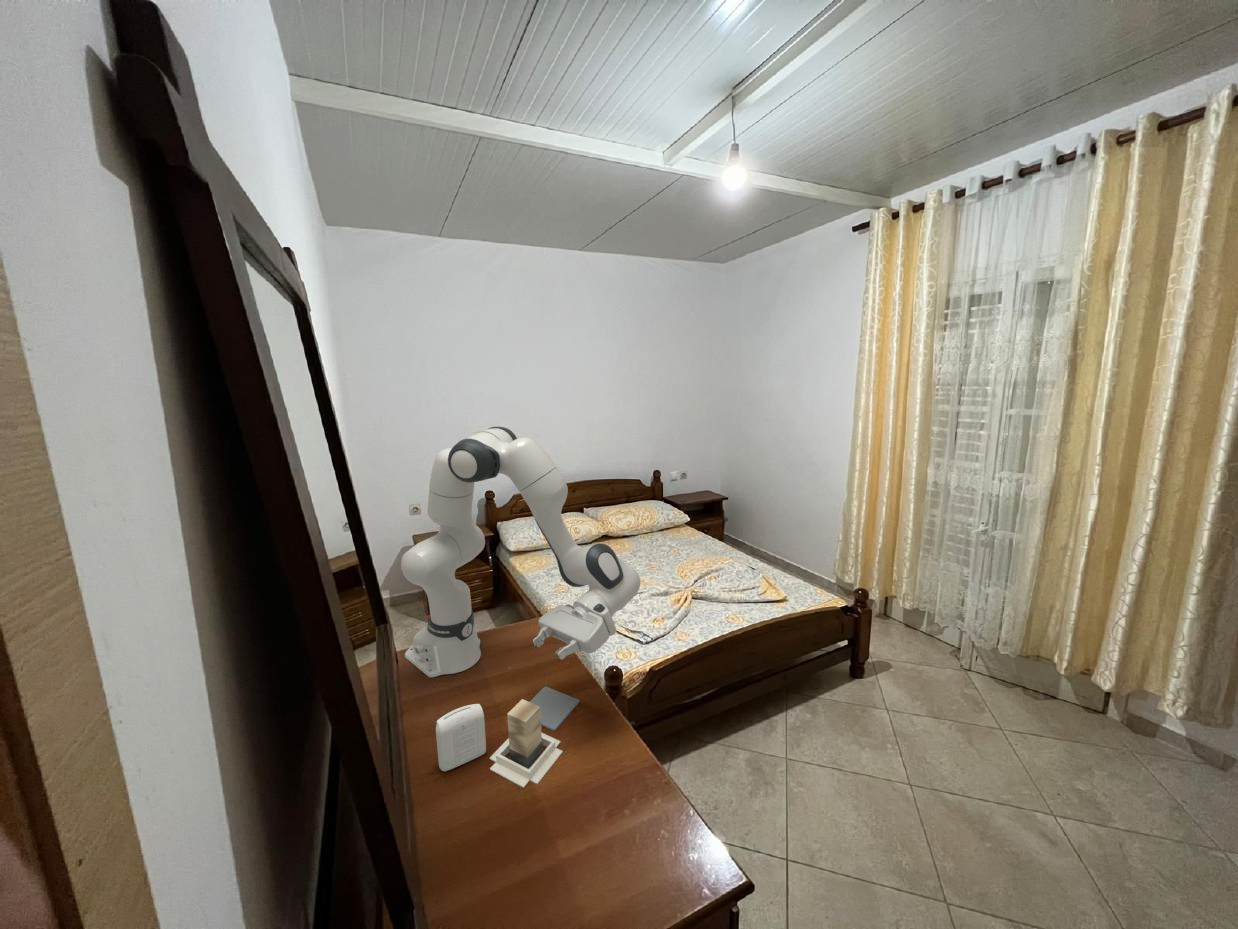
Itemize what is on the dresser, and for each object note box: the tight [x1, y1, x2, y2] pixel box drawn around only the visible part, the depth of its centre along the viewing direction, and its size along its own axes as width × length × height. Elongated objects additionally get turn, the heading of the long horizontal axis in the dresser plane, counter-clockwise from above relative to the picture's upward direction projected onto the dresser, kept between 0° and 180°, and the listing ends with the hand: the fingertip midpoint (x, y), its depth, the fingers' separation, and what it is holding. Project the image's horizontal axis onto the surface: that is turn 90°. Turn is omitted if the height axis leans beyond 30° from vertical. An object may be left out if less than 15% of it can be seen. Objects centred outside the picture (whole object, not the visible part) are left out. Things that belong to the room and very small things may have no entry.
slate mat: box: [529, 686, 581, 732], centre depth 119 cm, size 11×11×1 cm
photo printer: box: [435, 703, 487, 772], centre depth 103 cm, size 10×4×12 cm, turn 124°
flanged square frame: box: [489, 731, 564, 789], centre depth 105 cm, size 13×13×2 cm
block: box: [506, 698, 543, 769], centre depth 104 cm, size 5×5×12 cm
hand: (546, 650), depth 107 cm, fingers open, 8 cm apart
